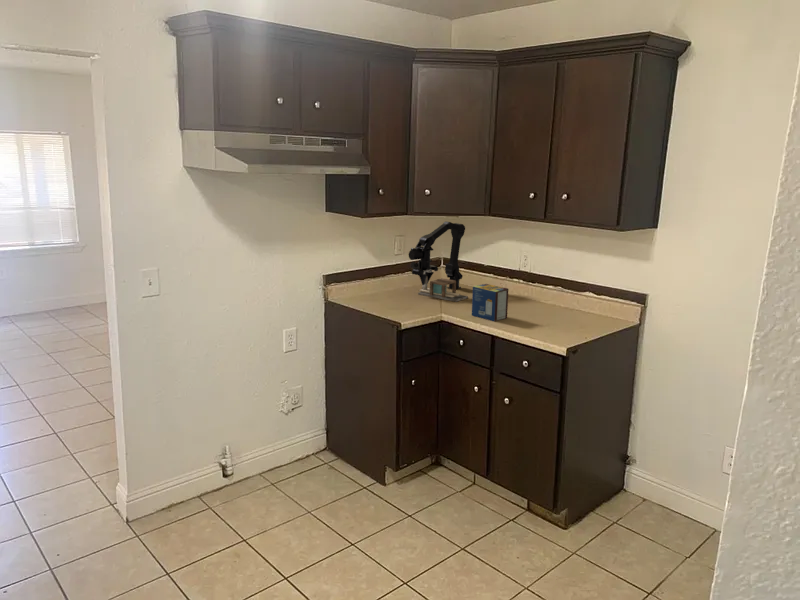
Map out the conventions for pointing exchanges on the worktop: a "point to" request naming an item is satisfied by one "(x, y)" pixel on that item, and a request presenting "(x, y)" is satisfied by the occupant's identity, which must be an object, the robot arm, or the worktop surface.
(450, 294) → the sled
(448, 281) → the tunnel
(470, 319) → the worktop surface
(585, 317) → the worktop surface
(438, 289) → the teal block
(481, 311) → the protein box
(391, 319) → the worktop surface
